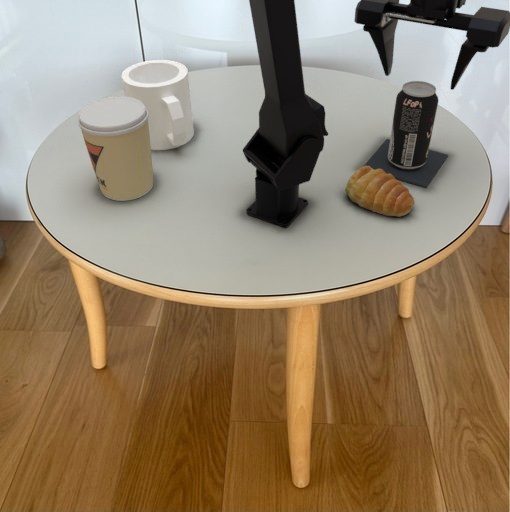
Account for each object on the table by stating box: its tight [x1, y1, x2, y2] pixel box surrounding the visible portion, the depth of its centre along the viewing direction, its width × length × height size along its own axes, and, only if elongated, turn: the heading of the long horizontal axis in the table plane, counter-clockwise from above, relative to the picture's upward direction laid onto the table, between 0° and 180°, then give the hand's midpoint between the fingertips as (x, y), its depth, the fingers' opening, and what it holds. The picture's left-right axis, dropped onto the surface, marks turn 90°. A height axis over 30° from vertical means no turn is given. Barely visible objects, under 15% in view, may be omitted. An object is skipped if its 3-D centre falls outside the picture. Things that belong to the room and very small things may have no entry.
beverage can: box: [388, 80, 439, 169], centre depth 83 cm, size 6×6×12 cm
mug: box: [121, 59, 195, 151], centre depth 91 cm, size 14×10×11 cm
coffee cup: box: [77, 95, 154, 202], centre depth 80 cm, size 9×9×12 cm
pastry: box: [344, 165, 416, 217], centre depth 79 cm, size 9×7×4 cm
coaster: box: [363, 138, 449, 189], centre depth 87 cm, size 10×10×1 cm
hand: (419, 81), depth 79 cm, fingers open, 9 cm apart
